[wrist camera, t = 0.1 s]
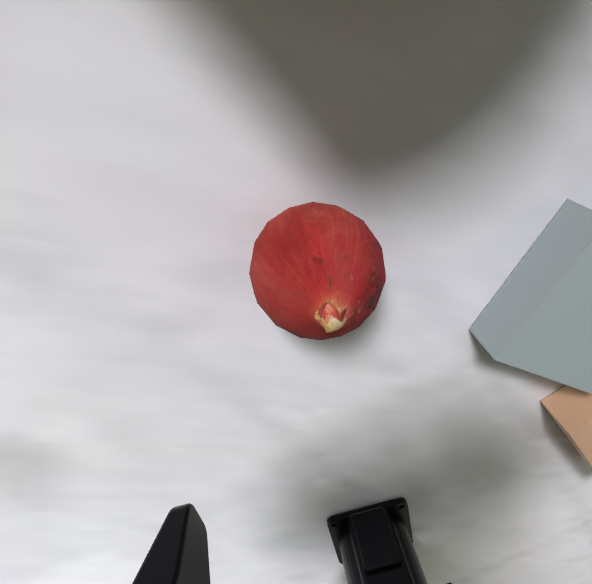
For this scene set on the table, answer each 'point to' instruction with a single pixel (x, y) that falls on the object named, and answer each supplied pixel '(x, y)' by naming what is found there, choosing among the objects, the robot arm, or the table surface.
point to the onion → (317, 271)
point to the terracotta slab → (573, 418)
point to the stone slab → (547, 305)
